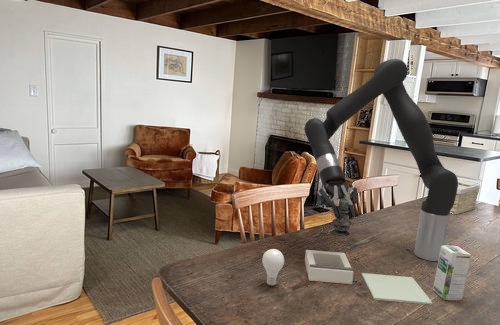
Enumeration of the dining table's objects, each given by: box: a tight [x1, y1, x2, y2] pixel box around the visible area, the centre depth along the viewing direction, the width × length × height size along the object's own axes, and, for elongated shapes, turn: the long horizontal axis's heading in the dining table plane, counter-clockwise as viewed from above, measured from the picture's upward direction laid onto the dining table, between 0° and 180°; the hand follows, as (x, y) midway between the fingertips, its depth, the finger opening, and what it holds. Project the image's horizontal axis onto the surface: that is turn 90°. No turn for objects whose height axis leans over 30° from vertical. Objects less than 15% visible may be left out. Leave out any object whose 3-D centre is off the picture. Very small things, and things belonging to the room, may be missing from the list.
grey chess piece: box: [331, 196, 352, 237], centre depth 107 cm, size 6×6×12 cm
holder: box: [304, 249, 354, 285], centre depth 111 cm, size 13×13×5 cm
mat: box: [361, 272, 433, 306], centre depth 104 cm, size 16×14×1 cm
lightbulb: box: [261, 248, 285, 286], centre depth 101 cm, size 6×6×11 cm
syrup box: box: [432, 244, 472, 301], centre depth 101 cm, size 6×6×14 cm
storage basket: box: [450, 179, 481, 215], centre depth 191 cm, size 24×16×15 cm
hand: (346, 218), depth 106 cm, fingers closed on grey chess piece, 3 cm apart
